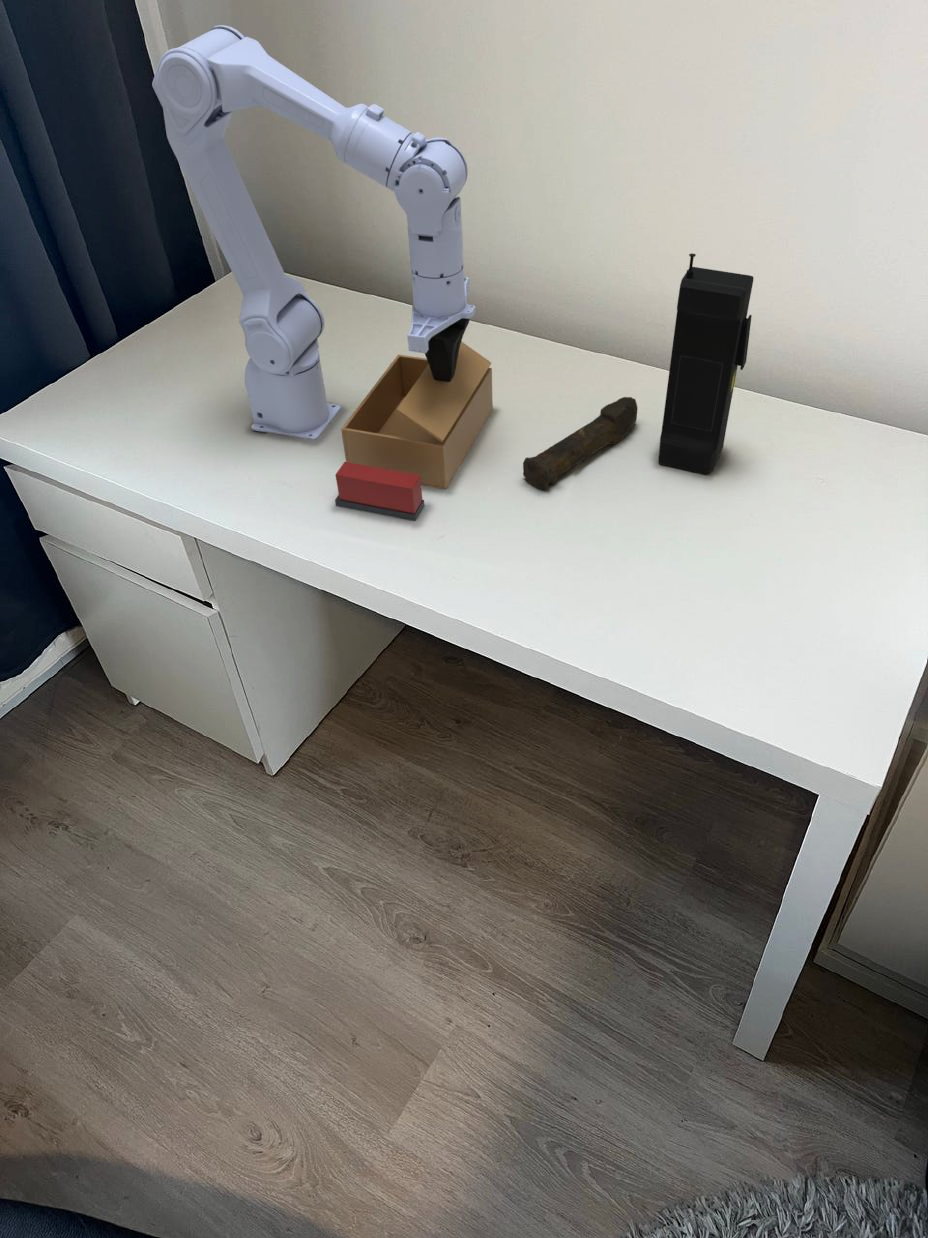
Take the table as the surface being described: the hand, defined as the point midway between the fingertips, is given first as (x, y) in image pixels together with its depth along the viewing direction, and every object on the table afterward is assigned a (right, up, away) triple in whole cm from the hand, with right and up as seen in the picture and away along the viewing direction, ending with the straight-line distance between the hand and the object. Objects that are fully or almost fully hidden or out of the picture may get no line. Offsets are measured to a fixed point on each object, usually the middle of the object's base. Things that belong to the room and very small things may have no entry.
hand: (444, 378), depth 111 cm
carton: (-3, -6, +8) cm, 10 cm away
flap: (0, -1, +1) cm, 1 cm away
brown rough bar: (+17, -8, +5) cm, 19 cm away
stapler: (-7, -16, -2) cm, 17 cm away
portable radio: (+30, -9, +3) cm, 32 cm away
